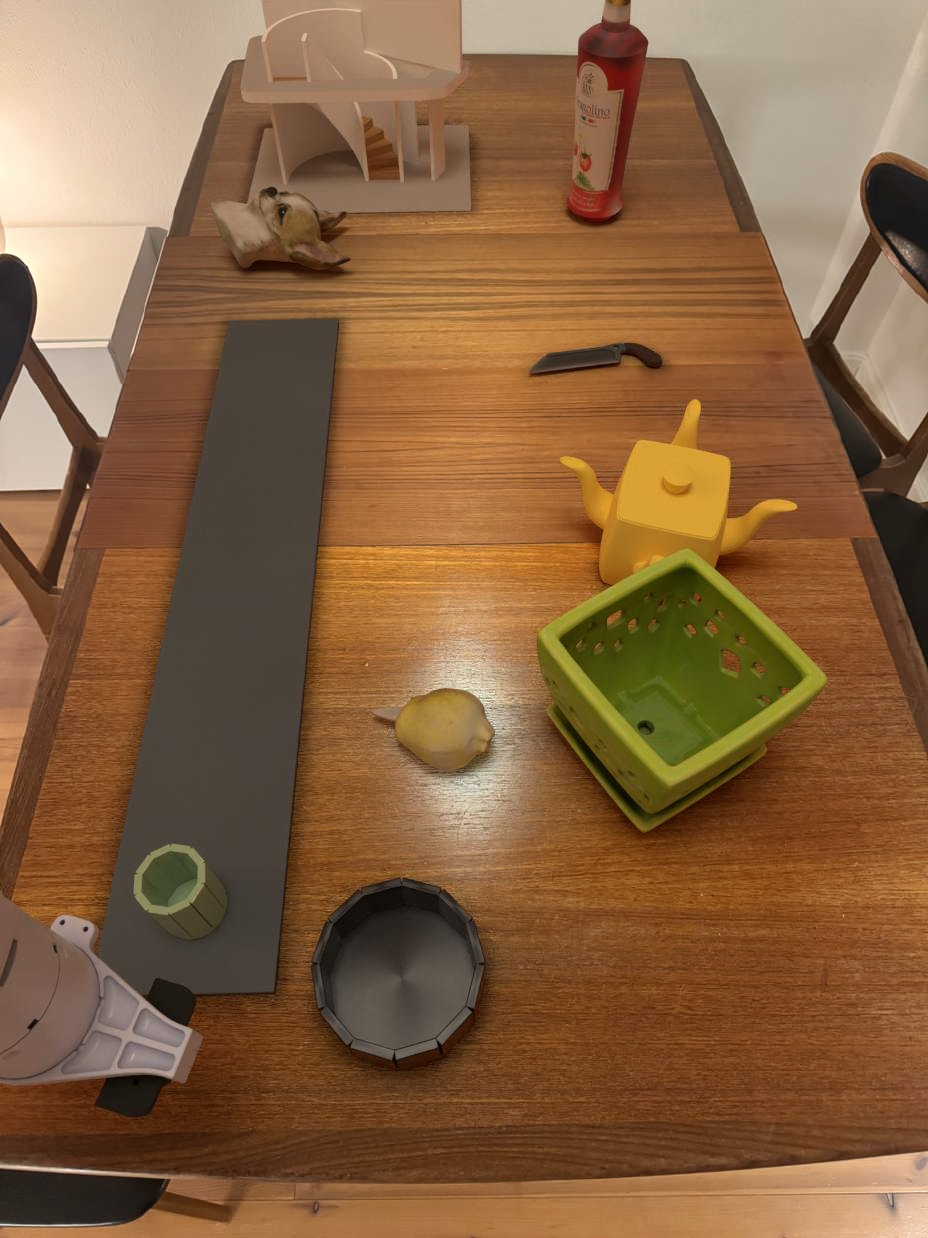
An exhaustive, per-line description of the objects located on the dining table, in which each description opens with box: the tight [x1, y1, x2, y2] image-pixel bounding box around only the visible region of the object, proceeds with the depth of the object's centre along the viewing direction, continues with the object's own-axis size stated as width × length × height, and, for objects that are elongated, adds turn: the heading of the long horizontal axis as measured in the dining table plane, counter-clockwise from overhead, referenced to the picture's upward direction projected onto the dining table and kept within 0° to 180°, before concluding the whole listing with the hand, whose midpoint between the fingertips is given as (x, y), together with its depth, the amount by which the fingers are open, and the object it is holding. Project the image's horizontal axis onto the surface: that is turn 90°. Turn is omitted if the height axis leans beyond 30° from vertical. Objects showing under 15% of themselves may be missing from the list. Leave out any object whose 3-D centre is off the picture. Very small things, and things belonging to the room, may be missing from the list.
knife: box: [528, 342, 663, 374], centre depth 91 cm, size 14×4×1 cm, turn 100°
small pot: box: [134, 844, 228, 940], centre depth 57 cm, size 4×5×6 cm
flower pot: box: [536, 548, 828, 834], centre depth 61 cm, size 14×14×13 cm
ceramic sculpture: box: [210, 187, 351, 271], centre depth 99 cm, size 11×9×15 cm
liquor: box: [565, 0, 649, 223], centre depth 96 cm, size 7×7×28 cm
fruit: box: [372, 687, 496, 771], centre depth 65 cm, size 6×6×10 cm
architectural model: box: [239, 0, 472, 214], centre depth 104 cm, size 28×21×23 cm
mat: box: [96, 318, 340, 998], centre depth 76 cm, size 69×12×1 cm, turn 1°
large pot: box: [310, 877, 486, 1071], centre depth 55 cm, size 10×10×4 cm
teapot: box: [559, 399, 798, 603], centre depth 73 cm, size 15×14×10 cm
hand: (105, 1041), depth 46 cm, fingers open, 7 cm apart
